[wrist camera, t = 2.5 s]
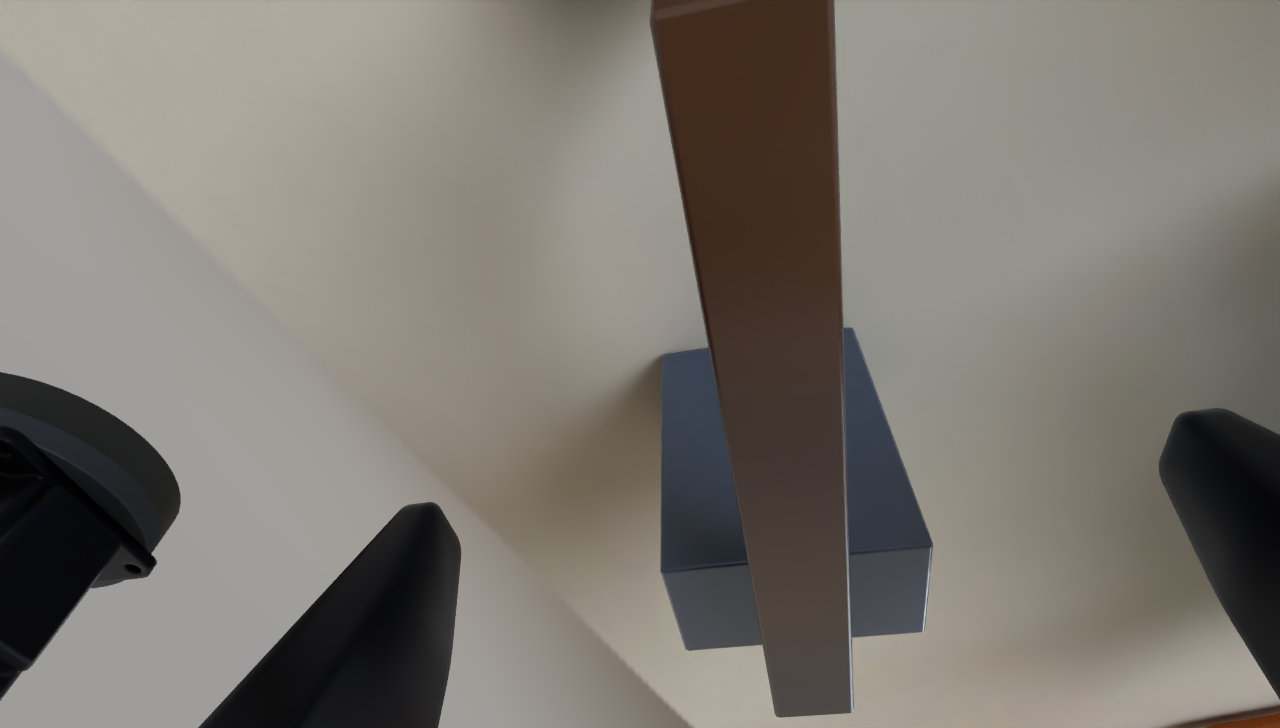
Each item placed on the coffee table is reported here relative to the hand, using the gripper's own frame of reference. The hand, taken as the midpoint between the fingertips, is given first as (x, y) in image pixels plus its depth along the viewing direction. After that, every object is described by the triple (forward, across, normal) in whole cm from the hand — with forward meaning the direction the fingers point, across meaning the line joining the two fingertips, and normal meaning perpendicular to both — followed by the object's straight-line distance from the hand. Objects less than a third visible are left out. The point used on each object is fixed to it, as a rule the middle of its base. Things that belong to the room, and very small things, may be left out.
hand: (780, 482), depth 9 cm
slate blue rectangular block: (+6, 0, +3) cm, 7 cm away
